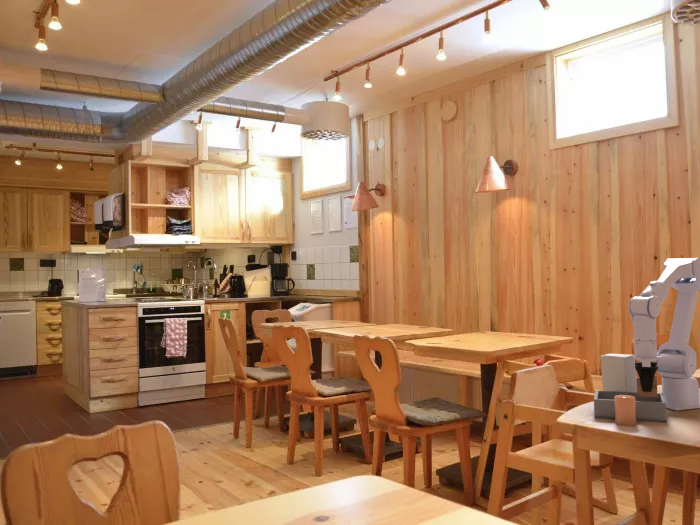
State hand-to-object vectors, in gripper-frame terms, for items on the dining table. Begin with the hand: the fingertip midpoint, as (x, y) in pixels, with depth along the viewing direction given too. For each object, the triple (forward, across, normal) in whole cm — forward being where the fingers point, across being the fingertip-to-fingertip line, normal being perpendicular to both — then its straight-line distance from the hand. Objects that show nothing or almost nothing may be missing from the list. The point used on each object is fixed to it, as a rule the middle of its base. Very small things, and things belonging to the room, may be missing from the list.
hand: (646, 389), depth 171 cm
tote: (+7, 0, +4) cm, 8 cm away
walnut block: (+2, 0, 0) cm, 2 cm away
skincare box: (+7, +13, +7) cm, 17 cm away
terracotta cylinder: (+7, -11, +5) cm, 14 cm away
